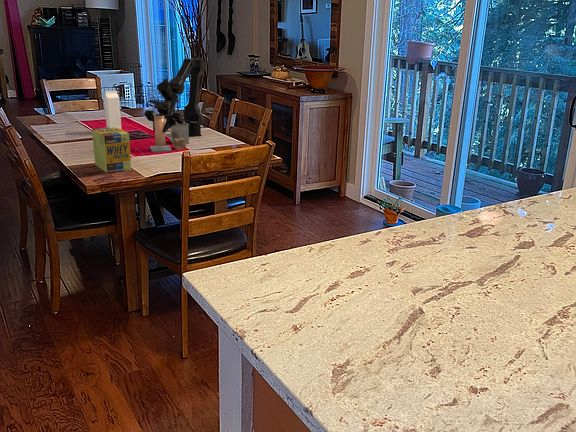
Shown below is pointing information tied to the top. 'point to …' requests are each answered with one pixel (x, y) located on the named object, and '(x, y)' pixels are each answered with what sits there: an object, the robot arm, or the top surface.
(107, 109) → the milk
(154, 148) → the pad
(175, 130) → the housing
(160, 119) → the canister
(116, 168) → the protein box
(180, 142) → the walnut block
